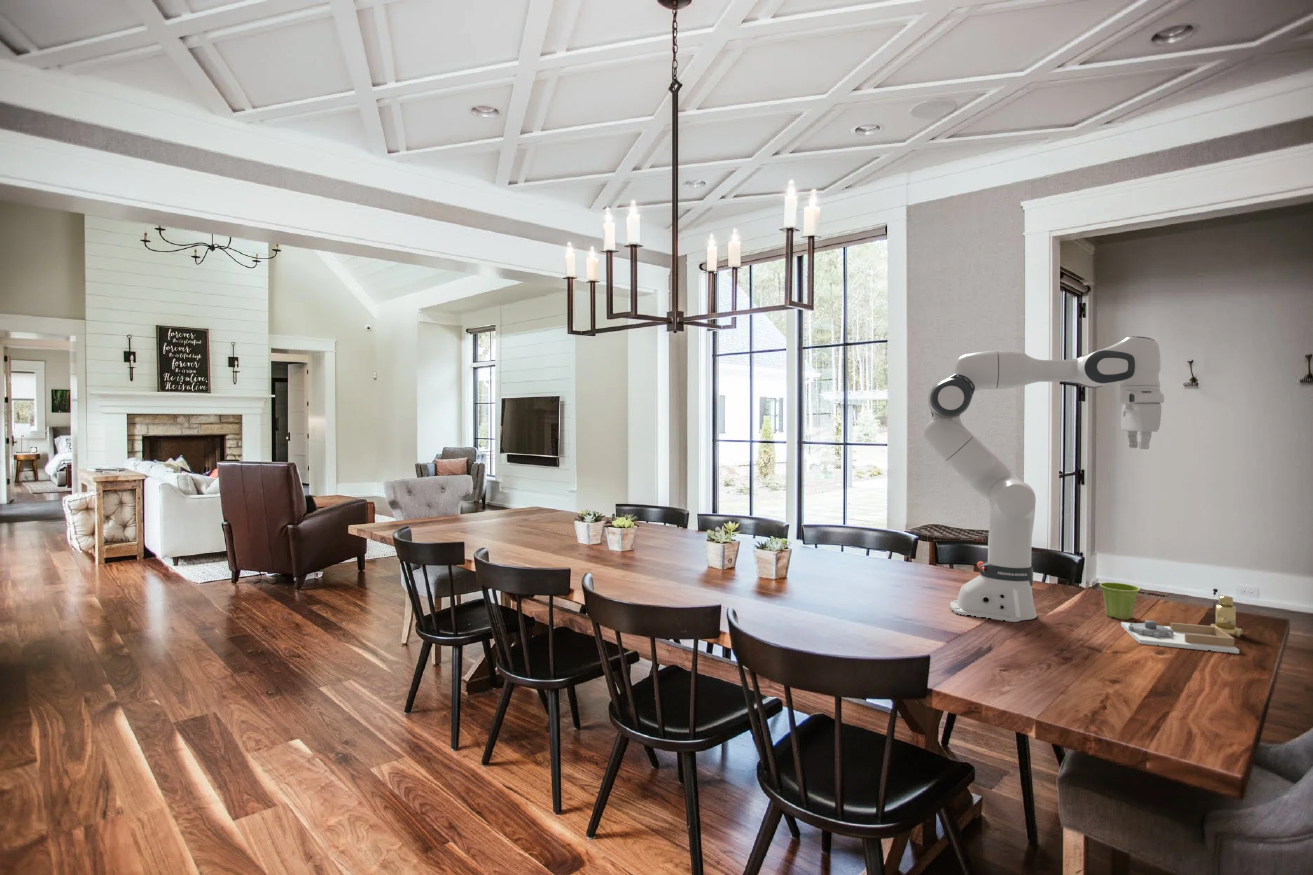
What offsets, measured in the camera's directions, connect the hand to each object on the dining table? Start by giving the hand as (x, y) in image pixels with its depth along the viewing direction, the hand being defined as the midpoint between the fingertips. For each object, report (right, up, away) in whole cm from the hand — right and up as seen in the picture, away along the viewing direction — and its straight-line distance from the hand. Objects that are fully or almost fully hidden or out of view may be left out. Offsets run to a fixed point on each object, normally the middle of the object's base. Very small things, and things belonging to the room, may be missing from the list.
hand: (1138, 448), depth 183 cm
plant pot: (+1, -48, +9) cm, 49 cm away
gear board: (+2, -48, -10) cm, 49 cm away
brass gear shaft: (+19, -48, -5) cm, 52 cm away
